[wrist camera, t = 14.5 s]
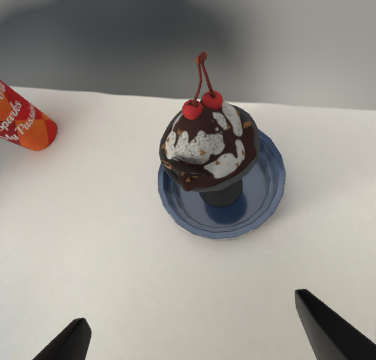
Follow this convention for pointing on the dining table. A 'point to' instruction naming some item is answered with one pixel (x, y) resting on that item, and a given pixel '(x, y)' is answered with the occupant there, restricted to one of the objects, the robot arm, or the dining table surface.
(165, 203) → the bowl
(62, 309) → the dining table surface
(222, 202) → the sundae
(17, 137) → the paper cup
